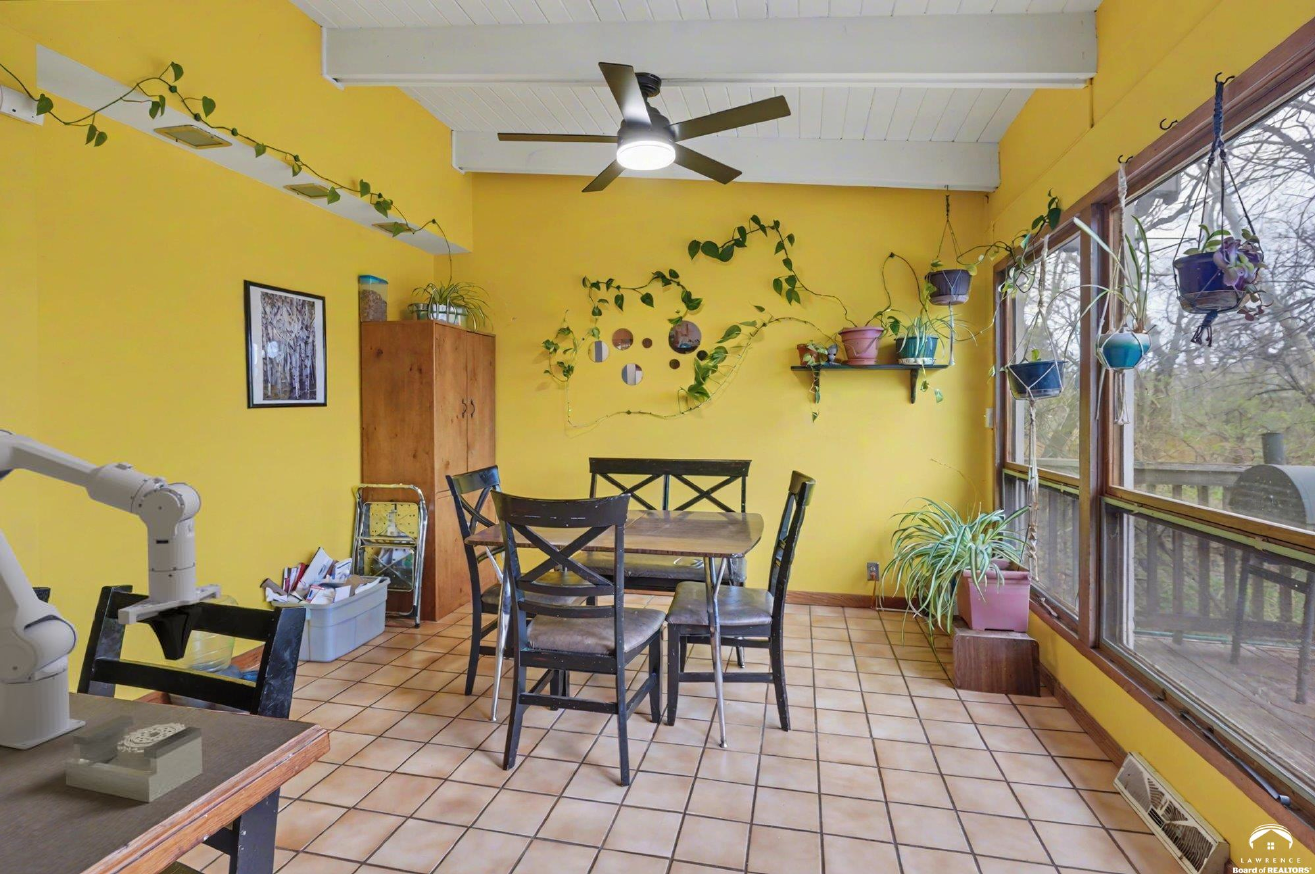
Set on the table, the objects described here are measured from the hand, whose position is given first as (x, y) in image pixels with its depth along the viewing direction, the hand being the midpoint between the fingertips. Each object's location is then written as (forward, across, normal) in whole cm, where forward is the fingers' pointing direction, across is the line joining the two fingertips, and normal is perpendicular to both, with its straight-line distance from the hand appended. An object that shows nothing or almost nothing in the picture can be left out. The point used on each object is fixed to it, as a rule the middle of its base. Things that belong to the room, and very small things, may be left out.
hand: (174, 658), depth 103 cm
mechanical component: (+10, -10, -8) cm, 17 cm away
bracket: (+10, -13, -9) cm, 19 cm away
